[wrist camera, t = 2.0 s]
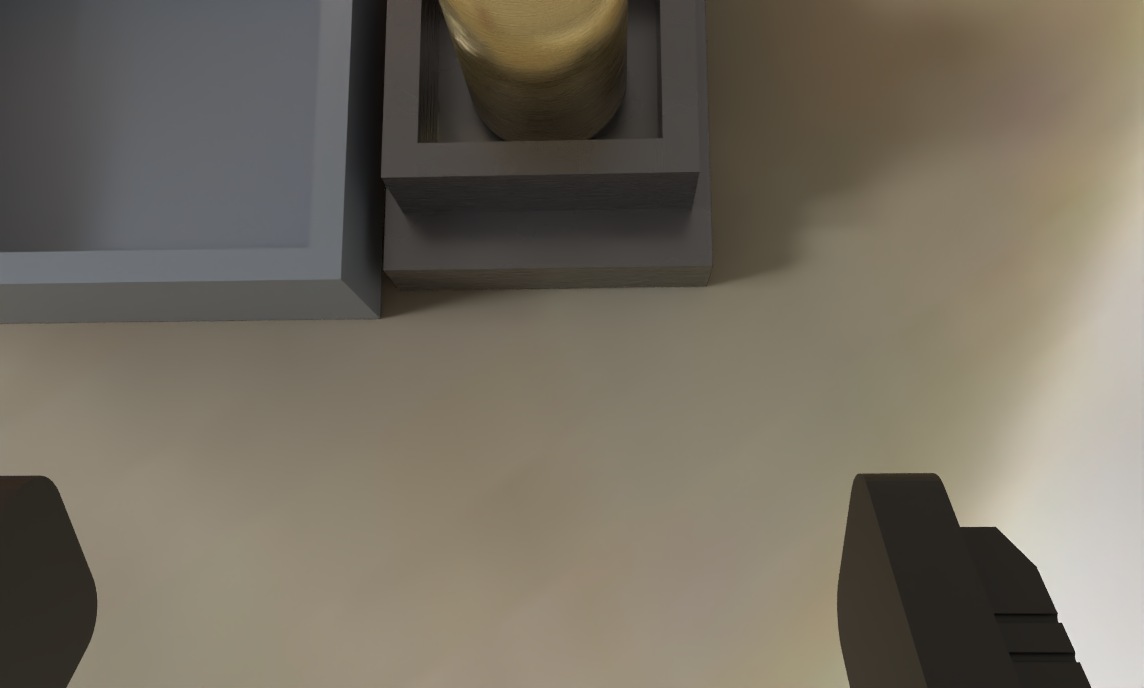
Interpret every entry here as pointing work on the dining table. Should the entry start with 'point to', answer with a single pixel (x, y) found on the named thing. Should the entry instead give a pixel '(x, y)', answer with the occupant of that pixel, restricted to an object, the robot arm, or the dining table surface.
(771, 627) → the dining table surface
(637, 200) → the crank housing
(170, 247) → the tray
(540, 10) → the cylinder
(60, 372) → the dining table surface
